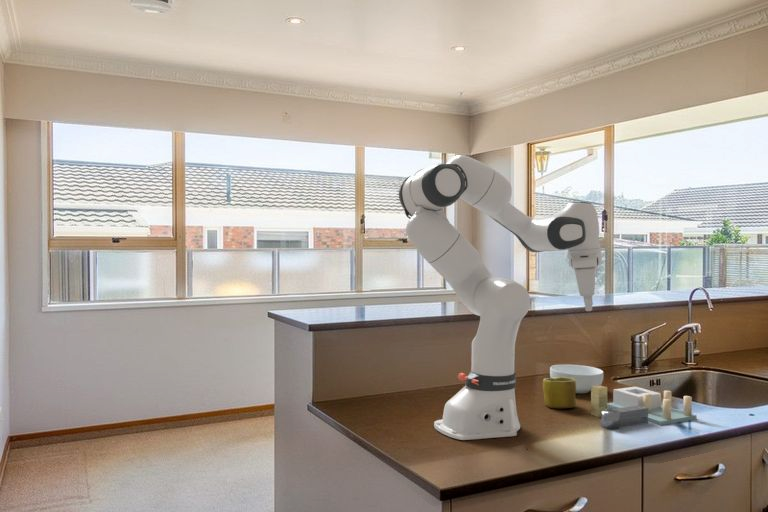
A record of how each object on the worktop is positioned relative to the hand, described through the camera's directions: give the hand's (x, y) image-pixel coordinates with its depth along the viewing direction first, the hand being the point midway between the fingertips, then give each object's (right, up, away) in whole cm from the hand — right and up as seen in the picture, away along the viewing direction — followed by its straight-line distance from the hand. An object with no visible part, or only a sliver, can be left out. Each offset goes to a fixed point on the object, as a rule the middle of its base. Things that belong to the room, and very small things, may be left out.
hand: (589, 308), depth 164 cm
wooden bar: (+2, -30, -1) cm, 30 cm away
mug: (-6, -30, +9) cm, 32 cm away
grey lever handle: (+6, -30, -10) cm, 32 cm away
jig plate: (+18, -30, +1) cm, 35 cm away
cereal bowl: (+5, -29, +26) cm, 40 cm away
